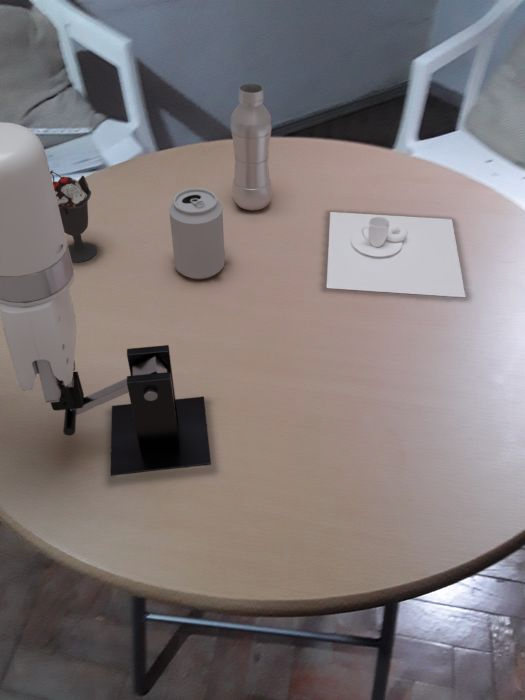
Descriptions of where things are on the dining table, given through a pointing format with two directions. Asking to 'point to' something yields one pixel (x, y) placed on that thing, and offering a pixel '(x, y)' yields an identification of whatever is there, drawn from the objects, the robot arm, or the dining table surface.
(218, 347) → the dining table surface
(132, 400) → the black lever stand
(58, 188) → the sundae
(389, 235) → the teacup and saucer
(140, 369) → the lever handle
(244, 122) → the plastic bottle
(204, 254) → the can
